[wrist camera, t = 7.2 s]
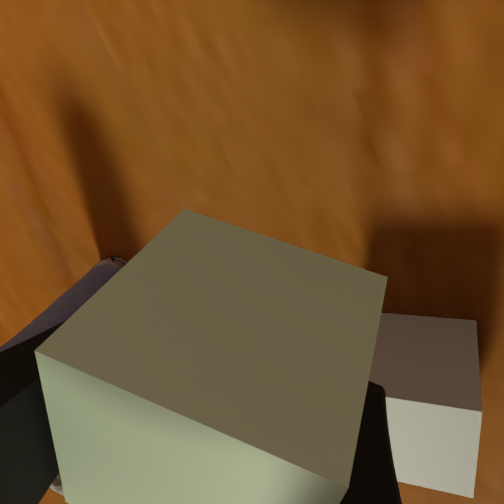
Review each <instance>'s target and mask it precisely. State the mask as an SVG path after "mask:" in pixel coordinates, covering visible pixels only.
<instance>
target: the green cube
mask: <svg viewBox="0 0 504 504" xmlns="http://www.w3.org/2000/svg"><path fill="white" fill-rule="evenodd" d="M387 279H388V277H386V276H383V275H380V274H377V273H374V272H371V271H368V270H365V269H362V268H359V267H356V266H353V265H350V264H347V263H344V262H341V261H338V260H335V259H333V258H330V257H327V256H324V255H321V254H318V253H315V252H312V251H309V250H306V249H303V248H300V247H297V246H294V245H291V244H288V243H285V242H282V241H279V240H276V239H273V238H270V237H267V236H264V235H261V234H258V233H255V232H252V231H249V230H246V229H243V228H240V227H237V226H234V225H231V224H228V223H225V222H222V221H219V220H216V219H213V218H210V217H207V216H204V215H201V214H198V213H195V212H192V211H189V210H186V209H184V210H183V211H182V212H181V213H180V214H179V215H178V216H177V217H176V218H174V219H173V220H172V221H171V222H170V223H169V224H168V225H167V226H166V227H165V228H164V229H163V230H162V231H161V232H160V233H159V234H158V235H156V236H155V237H154V238H153V239H152V240H151V241H150V242H149V243H148V244H147V245H146V246H145V247H144V248H143V249H142V250H141V251H140V252H138V253H137V254H136V255H135V256H134V257H133V258H132V259H131V260H130V261H129V262H128V263H127V264H126V265H125V266H124V267H123V268H122V269H120V270H119V271H118V272H117V273H116V274H115V275H114V276H113V277H112V278H111V279H110V280H109V281H108V282H107V283H106V284H105V285H104V286H103V287H101V288H100V289H99V290H98V291H97V292H96V293H95V294H94V295H93V296H92V297H91V298H90V299H89V300H88V301H87V302H86V303H85V304H83V305H82V306H81V307H80V308H79V309H78V310H77V311H76V312H75V313H74V314H73V315H72V316H71V317H70V318H69V319H68V320H67V321H65V322H64V323H63V324H62V325H61V326H60V327H59V328H58V329H57V330H56V331H55V332H54V333H53V334H52V335H51V336H50V337H49V338H47V339H46V340H45V341H44V342H43V343H42V344H41V345H40V346H39V347H38V348H37V349H36V350H35V356H36V360H37V365H38V370H39V375H40V380H41V385H42V390H43V394H44V399H45V404H46V409H47V414H48V419H49V423H50V428H51V433H52V438H53V443H54V448H55V453H56V457H57V462H58V467H59V472H60V477H61V482H62V486H63V491H64V496H65V501H66V502H67V503H69V504H340V502H341V500H342V499H343V497H344V495H345V493H346V492H347V490H348V488H349V482H350V477H351V472H352V466H353V461H354V456H355V450H356V445H357V440H358V434H359V429H360V423H361V418H362V413H363V407H364V402H365V397H366V391H367V386H368V381H369V375H370V370H371V365H372V359H373V354H374V348H375V343H376V338H377V332H378V327H379V322H380V316H381V311H382V306H383V300H384V295H385V290H386V284H387Z"/></svg>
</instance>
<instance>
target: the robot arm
mask: <svg viewBox="0 0 504 504" xmlns="http://www.w3.org/2000/svg"><path fill="white" fill-rule="evenodd" d="M67 320H68V319H67ZM67 320H65V321H67ZM65 321H63V322H61V323H59V324H57V325H55V326H53V327H51V328H49V329H47V330H45V331H43V332H41V333H39V334H37V335H35V336H33V337H31V338H29V339H27V340H25V341H23V342H21V343H18V344H16V345H14V346H12V347H10V348H8V349H6V350H3V351H1V352H0V504H38V503H39V502H40V500H41V499H42V497H43V496H44V494H45V493H46V491H47V490H48V488H49V487H50V485H51V484H52V482H53V481H54V479H55V478H56V477H57V475H58V474H59V473H60V472H59V467H58V462H57V457H56V453H55V448H54V443H53V438H52V433H51V428H50V423H49V419H48V414H47V409H46V404H45V399H44V394H43V390H42V385H41V380H40V375H39V370H38V365H37V360H36V356H35V350H36V349H37V348H38V347H39V346H40V345H41V344H42V343H43V342H44V341H45V340H46V339H47V338H49V337H50V336H51V335H52V334H53V333H54V332H55V331H56V330H57V329H58V328H59V327H60V326H61V325H62V324H63V323H64V322H65ZM340 504H402V502H401V498H400V492H399V487H398V482H397V477H396V472H395V467H394V462H393V456H392V450H391V443H390V436H389V428H388V420H387V409H386V391H385V390H384V388H383V386H381V385H378V384H376V383H373V382H371V381H368V386H367V391H366V397H365V402H364V407H363V413H362V418H361V423H360V429H359V434H358V440H357V445H356V450H355V456H354V461H353V466H352V472H351V477H350V482H349V488H348V490H347V492H346V493H345V495H344V497H343V499H342V500H341V502H340Z"/></svg>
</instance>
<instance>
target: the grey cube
mask: <svg viewBox="0 0 504 504" xmlns="http://www.w3.org/2000/svg"><path fill="white" fill-rule="evenodd" d="M369 381H371V382H373V383H376V384H378V385H381V386H383V388H384V390H385V391H386V409H387V420H388V428H389V436H390V443H391V450H392V456H393V462H394V467H395V472H396V477H397V481H399V482H403V483H408V484H412V485H417V486H421V487H426V488H430V489H435V490H439V491H444V492H448V493H453V494H457V495H462V496H466V497H470V498H473V495H474V485H475V476H476V466H477V457H478V447H479V438H480V428H481V419H482V400H481V385H480V370H479V355H478V340H477V324H476V320H465V319H452V318H440V317H428V316H416V315H403V314H391V313H381V316H380V322H379V327H378V332H377V338H376V343H375V348H374V354H373V359H372V365H371V370H370V375H369Z"/></svg>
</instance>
